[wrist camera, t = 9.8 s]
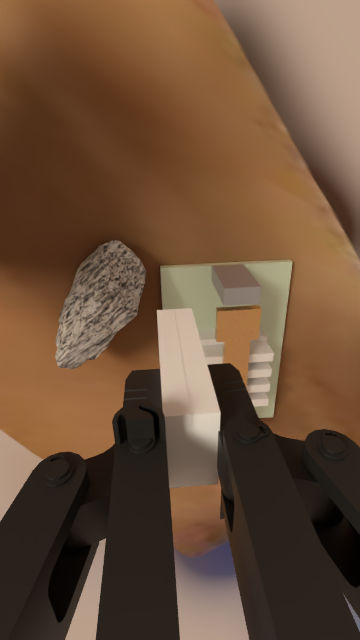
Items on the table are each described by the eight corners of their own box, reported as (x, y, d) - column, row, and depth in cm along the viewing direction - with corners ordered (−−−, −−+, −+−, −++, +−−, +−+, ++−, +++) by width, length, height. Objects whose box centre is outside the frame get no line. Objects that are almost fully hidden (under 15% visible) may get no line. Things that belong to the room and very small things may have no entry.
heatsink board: (168, 420, 56) (171, 466, 48) (160, 265, 44) (162, 291, 36) (271, 412, 57) (291, 456, 49) (289, 259, 45) (320, 283, 37)
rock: (76, 351, 48) (73, 390, 39) (26, 313, 45) (10, 345, 36) (157, 273, 47) (173, 294, 38) (112, 227, 44) (118, 238, 35)
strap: (247, 436, 49) (249, 442, 48) (212, 438, 49) (213, 445, 48) (258, 304, 40) (261, 309, 39) (215, 307, 40) (217, 311, 38)
